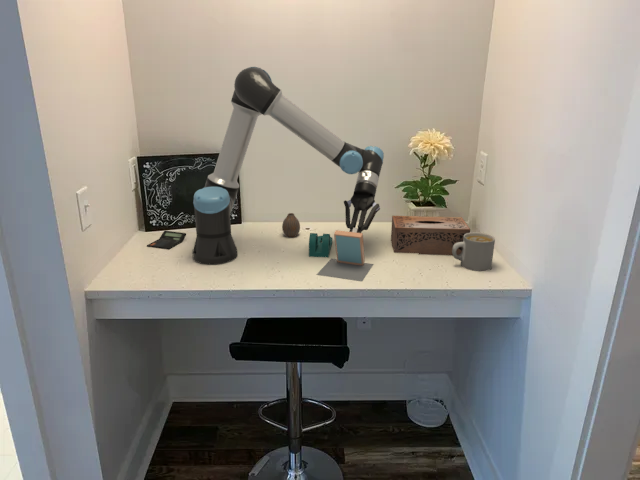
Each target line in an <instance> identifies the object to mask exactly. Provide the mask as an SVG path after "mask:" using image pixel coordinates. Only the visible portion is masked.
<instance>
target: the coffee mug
mask: <svg viewBox="0 0 640 480" xmlns="http://www.w3.org/2000/svg"><path fill="white" fill-rule="evenodd" d="M495 244H496V238H495V237H494V236H493V235H491V234H488V233H484V232H476V231H475V232H474V231H473V232H470V233H466V234H465V235H464V237H463V242H458V243H455V244H454V246H453V248H452V255H451V256H452V257H453V258H454V259H456V260H458V261H460V266H461V267H462V268H464V269H467V270H470V271H474V272H477V271H478V272H486V271H489V270H491V269H492V266H493V264H492V263H493V258H494V257H493V256H494V250H495ZM459 247H462V252H461V254H460V255H457V254H456V251H457V249H458V248H459Z"/></svg>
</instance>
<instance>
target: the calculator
mask: <svg viewBox="0 0 640 480" xmlns="http://www.w3.org/2000/svg"><path fill="white" fill-rule="evenodd" d="M186 237H187V233H186V232H180V231H171V230H170V231H169V230H164V231H163V232H162V234H161V235H160V236H159V238H158V239H156V240H154V241H153V242H152V241H151V242H150V243H149V244H147V245H146V247H148V248H154V249H162V250H168V251H169V250H171V249H173V248H175V247H177V246H178V245H179V244H182V242H183V241H184V239H185V238H186Z"/></svg>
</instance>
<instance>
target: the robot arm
mask: <svg viewBox="0 0 640 480" xmlns="http://www.w3.org/2000/svg"><path fill="white" fill-rule="evenodd" d="M233 85H234V86H233V87H234V90H233V92H232V93H233V94H232V97H231V100H230V103H231V105H232V107H233V109H232V113H231V116H230V119H229V122H228V126H227V128H226V132H225V135H224V138H223V141H222V143H221V148H220V151H219V154H218V157H217V160H216V163H215V166H214V167H215V168H214V170H213V172H212V173H210V174H208V175H207V178H206V180H205V184H204V187H202V188H200V189H198V190H196V191H195V192H194V195H193V202H192V204H193V208H194V210H193V211H194V222H195V231H196V232H195V234H196V238H195V242H194V246H193V249H192V259H193V261H194V262H196V263H199V264H202V265H220V264H221V265H222V264H225V263H229V262H233V261H235V259H236V258H238V248H237V245H236V243H235V240H234V237H233V235H232V227H231V225H232V222H231V212H232V209H233V208H234V206H235V204H236V199H237V198H236V197H237V195H238V193H239V189H240V184H239V182H238V178H239V175H240V171H241V169H242V166H243V162H244V160H245V157H246V154H247V150H248V148H249V145H250V141H251V138H252V135H253V132H254V130H255V127H256V122H257V119H258V118H259V116H261V115H262V116H270V117H271V118H272V119H274V120H275V121H276V122H278V123H279V124H280V125H282V126H283V127H285V128H286V129H287V130H288V131H290V132H292V134H294V135H295V136H297V137H299V139H301V140H303V142H305V143H306V144H307V145H309V146H310V147H312V148H313V149H315V150H316V151H317V152H319V153H320V154H322V155H323V156H324V157H326V158H327V159H328V160H330V161H331V162H332V163H333V164H334V165H336V166H338V168H340V170H341V171H342V172H343V173H345V174H348V175H355V174H357V173H358V174H357V178H356V183H355V186H354V191H353V195H352V196H351V198H350V199H349V200H343V204H344V207H345V213H344V214H345V226H346V228H347V229H349V231H348V232H355V233H362V232H363V231H368V230H369V228H370V226H371V224H372V222H373V220H374V218H375V216H376V214H377V212H379V211H380V210H381V206H380V203H377V202H376V201H375V198H376V195H377V188H378V184H379V181H380V175H381V170H382V168H383V167H382V166H383V165H384V157H385V153H384V151H383V150H382V149H381V148H380V147H378V146H375V145H373V146H372V145H369V146H366V147H365V148H360V147H358V146H355V145H352V144H351V143H349V142H346V141H344V140H342V138H340V137H338V136H337V135H336V134H334V133H333V131H330V129H328V128H326V127H325V126H324V125H323V124H321V123H320V122H319V121H317V120H316V119H315V118H313V116H311V115H309V114H308V113H307V112H305V111H304V110H303V109H302V108H300V107H299V106H297V105H296V104H295V103H293V102H292V101H291V100H289V98H287V97H285V96H284V95H283V91H282V89H280V88H279V87H278V86H277V85H275V84H274V82H273V80H272V78H271V76H270V75H269V73H268V72H267V71H266V70H265V69H262V68H261V67H259V66H258V67H257V66H250V67H247V68H244V69H242V70H241V71H239V72H238V74H237V75H236V77H235V80H234V84H233ZM351 206H353V215H352V217H351V209H350V208H351ZM370 209H371V210H370ZM368 210H370V211H369V214H368V216H367V213H368ZM359 214H360V216H359ZM366 216H367V217H366ZM358 219H359V220H358ZM357 223H358V224H357ZM356 225H357V227H356Z"/></svg>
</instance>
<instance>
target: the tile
mask: <svg viewBox="0 0 640 480" xmlns="http://www.w3.org/2000/svg"><path fill="white" fill-rule="evenodd" d="M333 236H334V245H335V253H336V259H337V262H341V263H348V264H355V265H364V263H366V261H365V248H364V247H365V246H364V235H363V233H362V232H361V233H355V232H349V231H345V230H344V231H343V230H339V229H337V230H336V229H335V231H334V232H333Z"/></svg>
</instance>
